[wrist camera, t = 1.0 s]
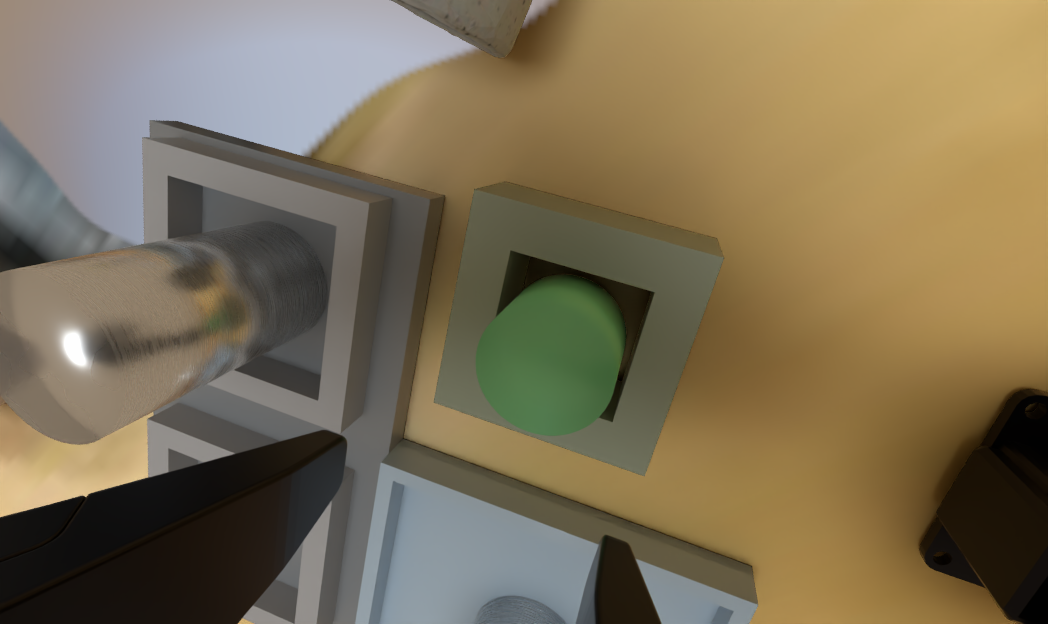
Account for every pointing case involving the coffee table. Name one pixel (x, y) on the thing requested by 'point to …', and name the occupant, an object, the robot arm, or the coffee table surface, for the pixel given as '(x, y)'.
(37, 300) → the seated billet
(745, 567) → the blue gray square tray
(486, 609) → the cylinder
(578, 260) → the square socket block
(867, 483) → the coffee table surface
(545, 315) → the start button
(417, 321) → the grey flat frame
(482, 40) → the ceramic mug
